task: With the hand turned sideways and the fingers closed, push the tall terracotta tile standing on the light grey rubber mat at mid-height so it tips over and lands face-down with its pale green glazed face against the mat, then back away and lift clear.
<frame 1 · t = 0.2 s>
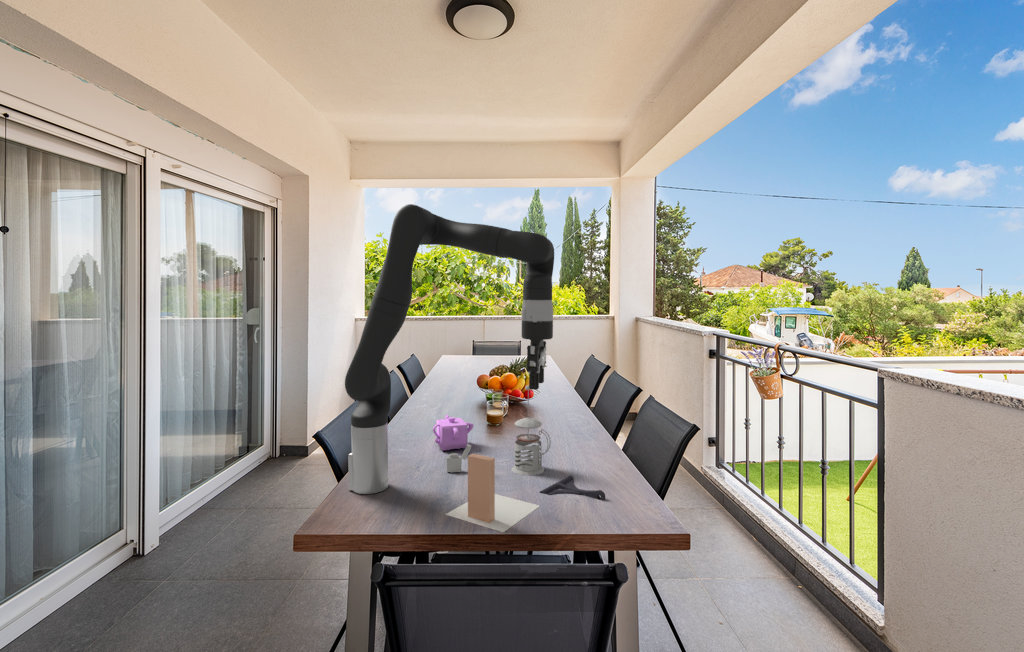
hand: (536, 386, 119), 29 cm above the table, tool pointing down, fingers open, 8 cm apart
tile: (481, 517, 112), point 1 cm above the table, touching mat
french press: (530, 470, 145), on the table
lighter: (459, 472, 143), on the table
teapot: (453, 447, 168), on the table
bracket: (578, 496, 128), on the table
mat: (493, 512, 116), on the table
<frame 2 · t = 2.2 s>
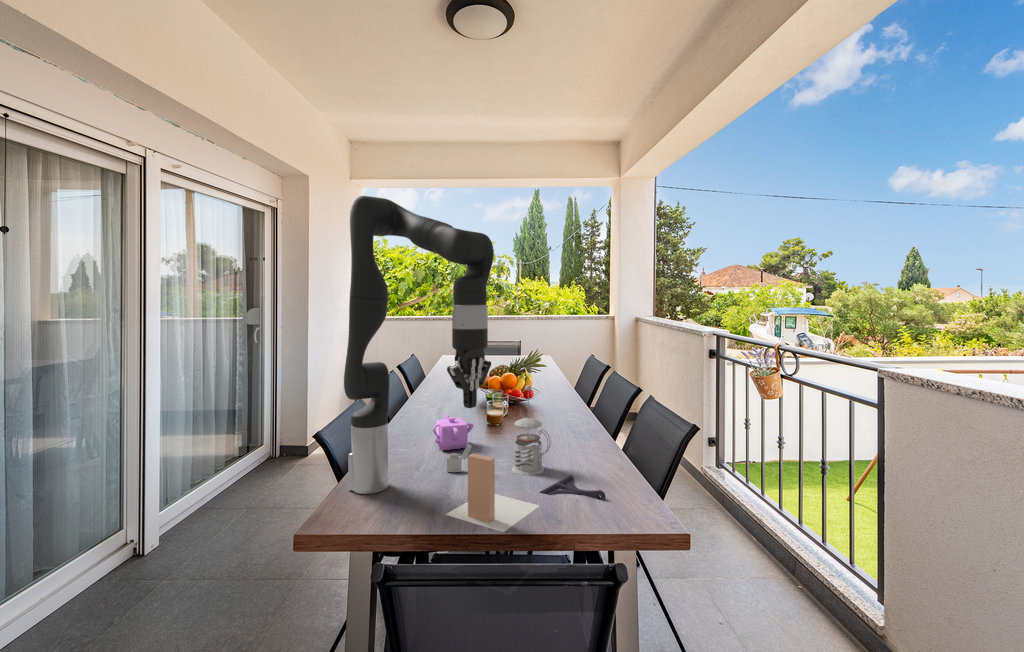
hand: (470, 407, 106), 27 cm above the table, tool pointing down, fingers closed
nothing on the table moved.
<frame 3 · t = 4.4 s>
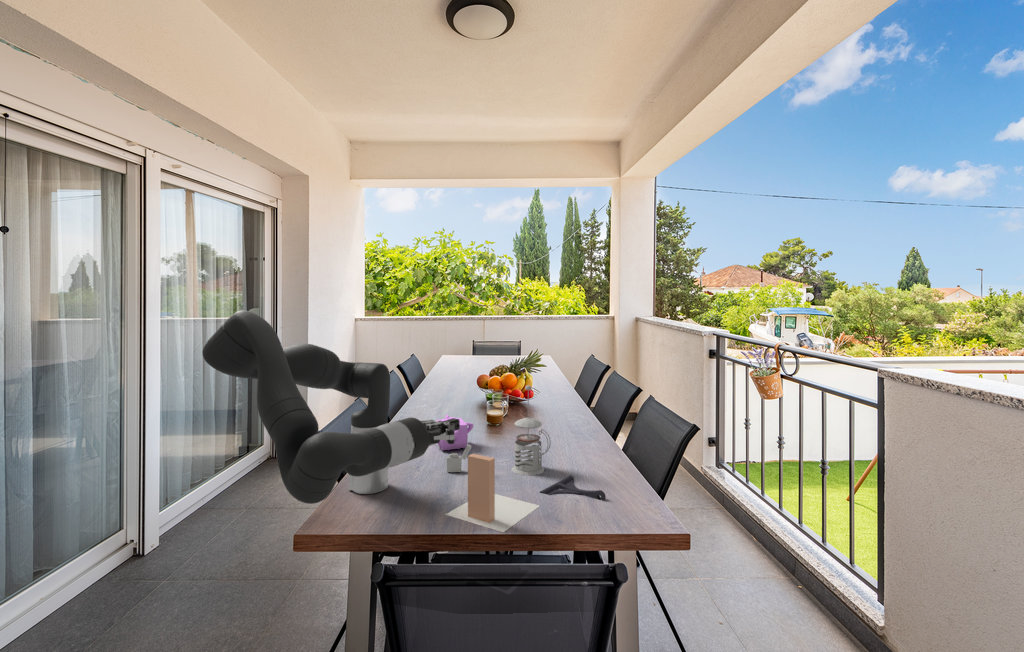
hand: (456, 423, 103), 24 cm above the table, tool horizontal, fingers closed
nothing on the table moved.
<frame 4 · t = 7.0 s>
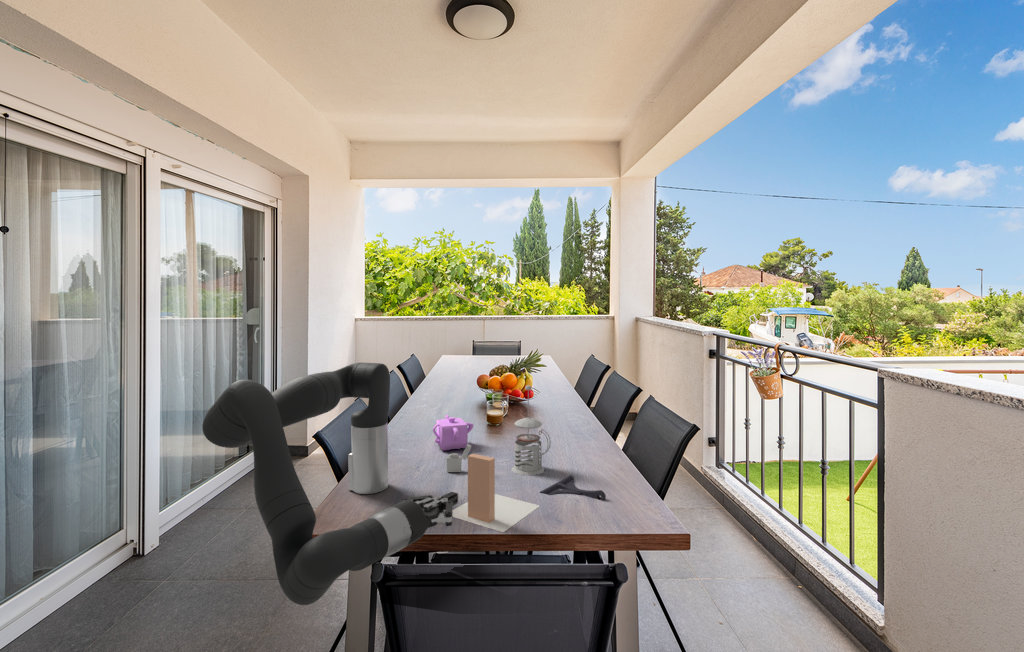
hand: (455, 496, 103), 9 cm above the table, tool horizontal, fingers closed
nothing on the table moved.
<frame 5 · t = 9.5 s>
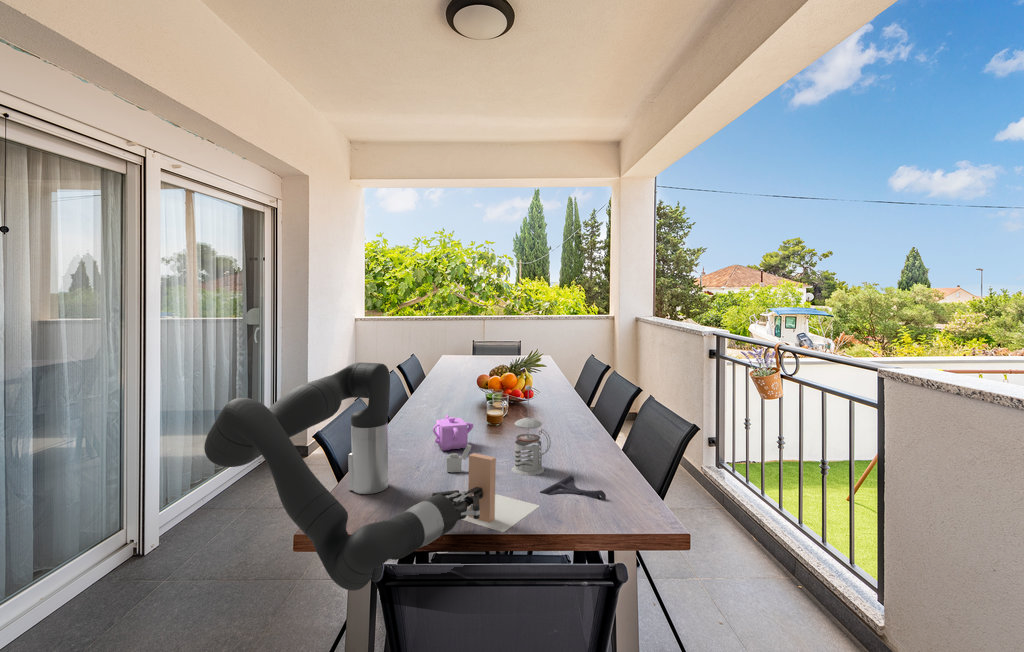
hand: (479, 491, 110), 7 cm above the table, tool horizontal, fingers closed
tile: (481, 517, 112), point 1 cm above the table, touching gripper, mat
everything else where it was.
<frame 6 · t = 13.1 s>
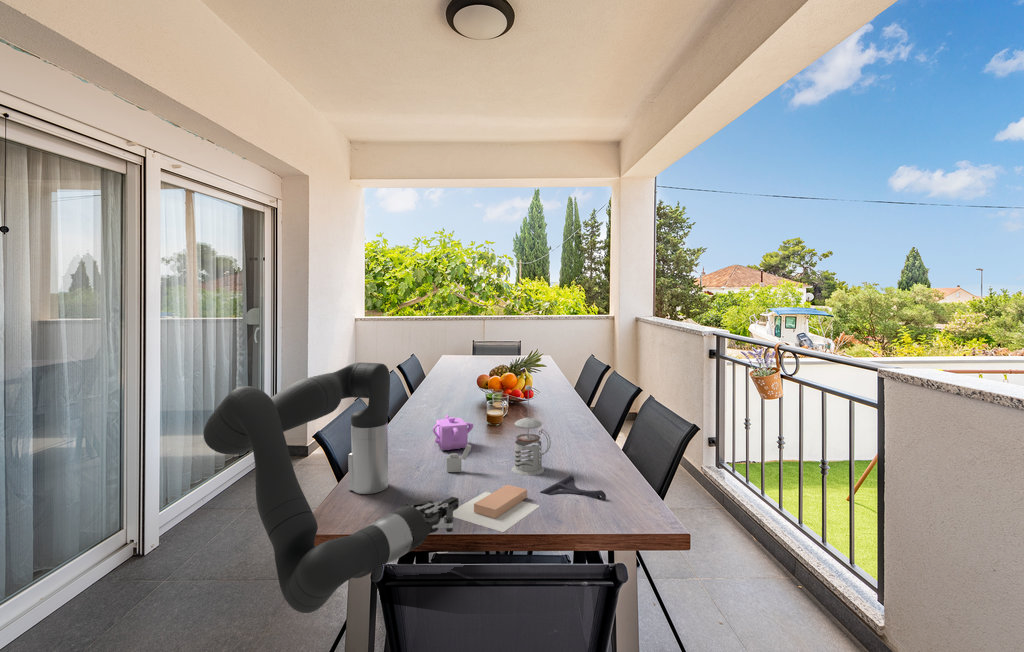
hand: (455, 501, 104), 8 cm above the table, tool horizontal, fingers closed
tile: (484, 510, 113), point 2 cm above the table, tilted 90°, touching mat
everything else where it was.
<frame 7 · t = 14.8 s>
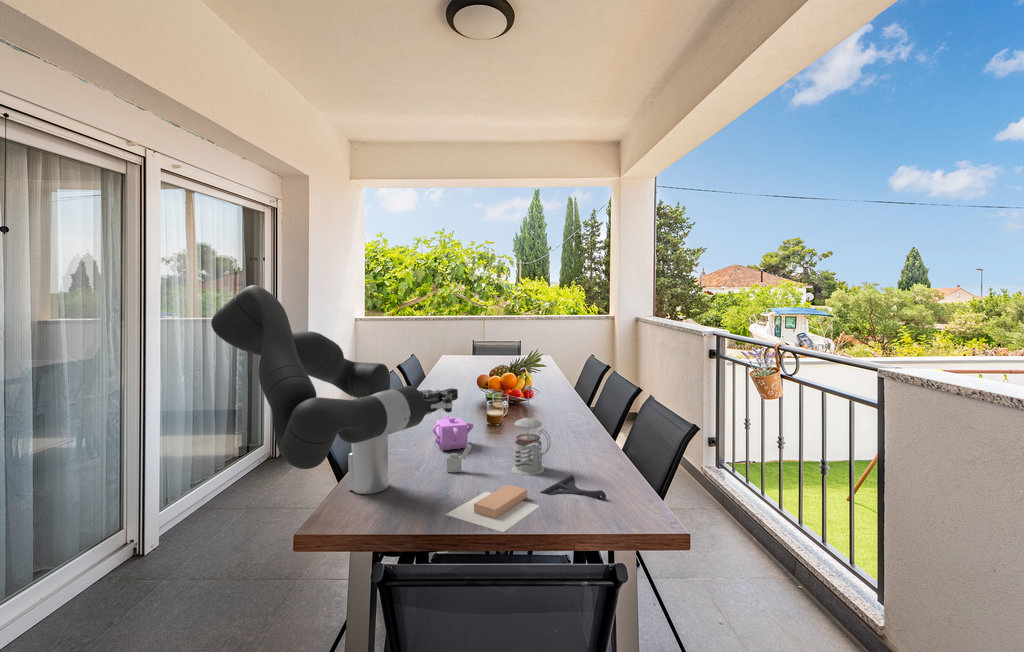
hand: (455, 393, 102), 31 cm above the table, tool horizontal, fingers closed
nothing on the table moved.
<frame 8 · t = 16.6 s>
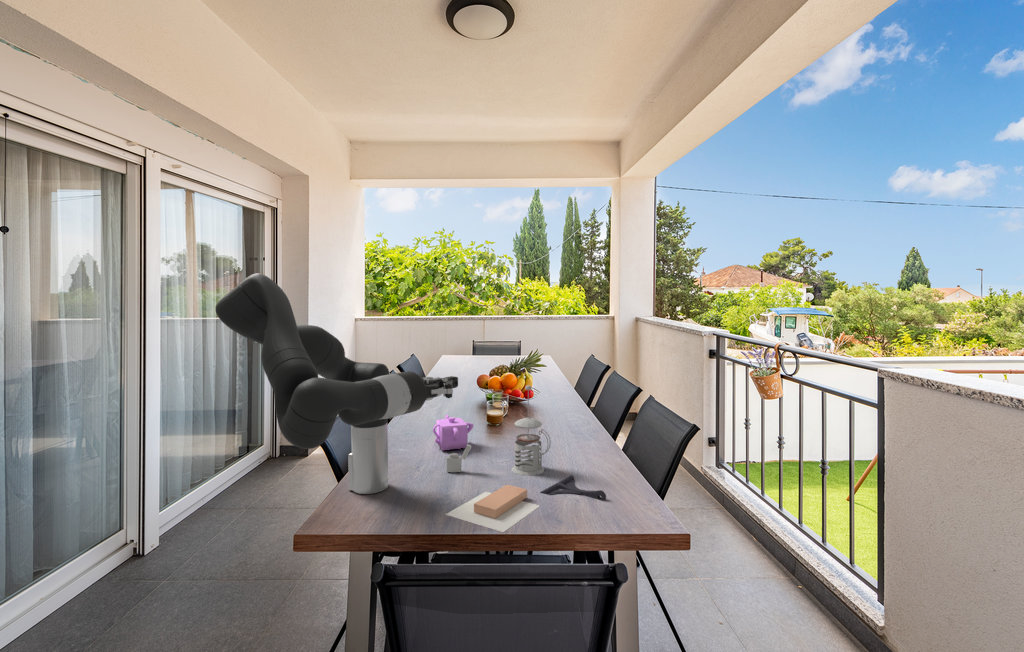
hand: (455, 381, 102), 33 cm above the table, tool horizontal, fingers closed
nothing on the table moved.
at the end: tile tilted 90°; tile inside the target area (0.2 cm from its centre), point 1.7 cm above the table; tile touching mat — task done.
